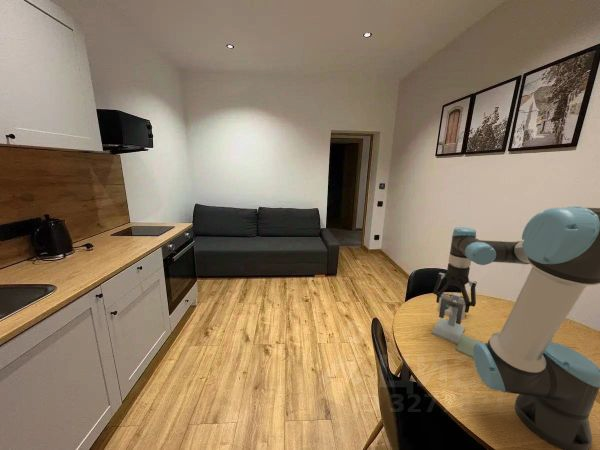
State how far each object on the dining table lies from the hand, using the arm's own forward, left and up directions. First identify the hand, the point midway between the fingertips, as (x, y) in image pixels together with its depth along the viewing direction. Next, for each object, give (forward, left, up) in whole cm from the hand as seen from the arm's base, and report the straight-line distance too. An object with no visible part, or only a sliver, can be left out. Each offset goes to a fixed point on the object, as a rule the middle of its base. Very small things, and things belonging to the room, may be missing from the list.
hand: (450, 313), depth 103 cm
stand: (+2, 0, -10) cm, 10 cm away
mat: (-3, -10, -10) cm, 14 cm away
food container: (+18, +1, -10) cm, 21 cm away
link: (0, 0, -3) cm, 3 cm away
